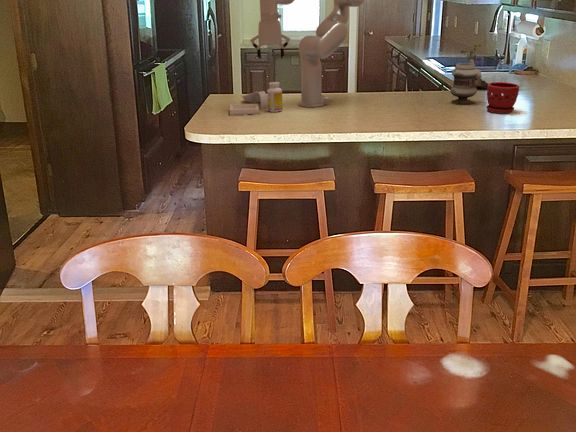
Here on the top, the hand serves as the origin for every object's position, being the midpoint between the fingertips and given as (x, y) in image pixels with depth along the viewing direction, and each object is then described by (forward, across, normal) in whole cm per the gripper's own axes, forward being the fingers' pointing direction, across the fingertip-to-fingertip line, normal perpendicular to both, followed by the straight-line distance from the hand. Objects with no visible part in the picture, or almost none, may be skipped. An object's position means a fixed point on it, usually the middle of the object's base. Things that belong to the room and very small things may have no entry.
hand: (270, 58), depth 273 cm
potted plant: (+26, -109, -52) cm, 123 cm away
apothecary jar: (+25, -90, -9) cm, 93 cm away
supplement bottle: (+24, -1, +1) cm, 24 cm away
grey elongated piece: (+24, +7, -18) cm, 31 cm away
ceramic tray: (+23, +13, +2) cm, 27 cm away
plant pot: (+25, -100, +13) cm, 104 cm away
